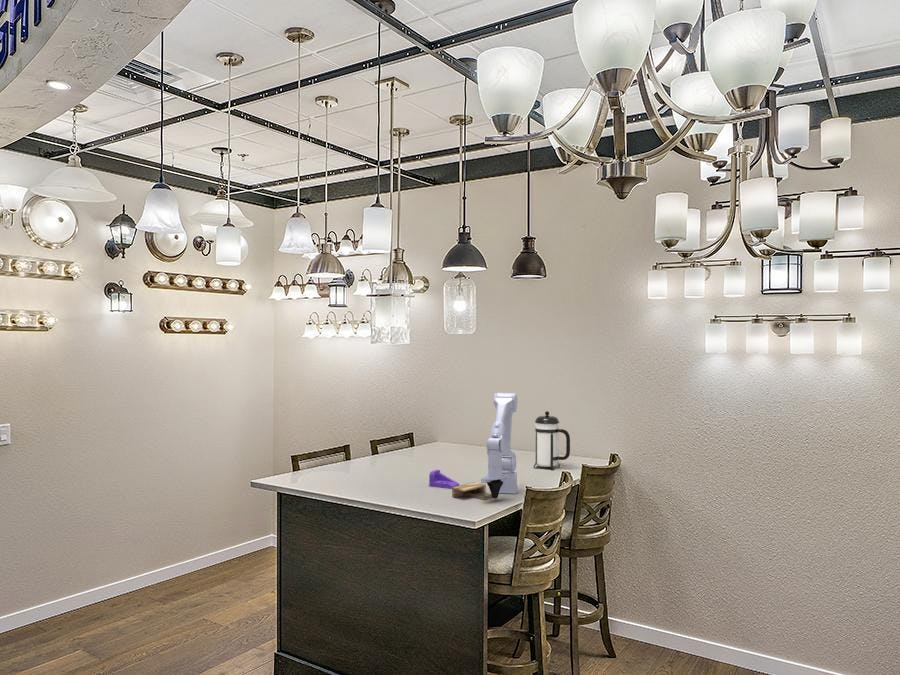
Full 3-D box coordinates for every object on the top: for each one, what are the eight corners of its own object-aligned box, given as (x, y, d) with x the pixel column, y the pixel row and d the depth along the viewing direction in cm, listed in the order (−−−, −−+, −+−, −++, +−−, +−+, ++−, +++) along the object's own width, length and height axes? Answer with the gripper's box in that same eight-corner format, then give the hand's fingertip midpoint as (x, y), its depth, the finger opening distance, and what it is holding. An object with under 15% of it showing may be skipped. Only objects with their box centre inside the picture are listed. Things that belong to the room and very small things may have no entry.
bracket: (429, 487, 304) (429, 472, 304) (436, 484, 311) (436, 469, 311) (452, 489, 299) (452, 474, 299) (459, 486, 305) (459, 472, 305)
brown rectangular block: (485, 494, 289) (485, 484, 289) (464, 499, 279) (464, 489, 279) (473, 491, 294) (473, 482, 294) (452, 497, 284) (452, 487, 284)
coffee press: (538, 471, 340) (539, 413, 340) (529, 465, 356) (529, 409, 356) (570, 470, 344) (570, 412, 344) (559, 464, 359) (559, 409, 360)
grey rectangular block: (493, 498, 283) (493, 494, 283) (483, 501, 279) (483, 496, 279) (472, 494, 292) (472, 489, 292) (463, 496, 287) (463, 491, 287)
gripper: (500, 462, 286) (499, 493, 286) (476, 466, 277) (475, 498, 276) (512, 464, 281) (511, 496, 281) (487, 469, 271) (487, 502, 271)
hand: (494, 498), depth 278 cm, fingers closed
